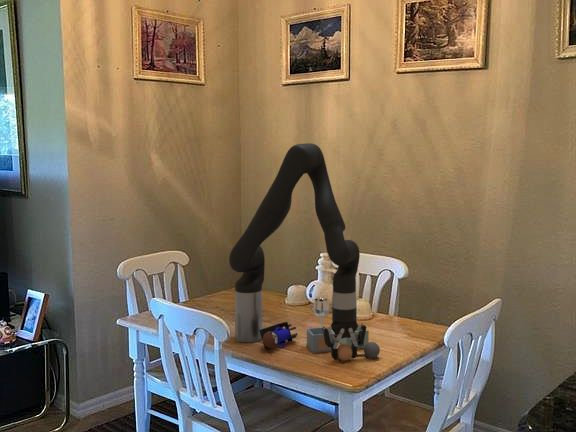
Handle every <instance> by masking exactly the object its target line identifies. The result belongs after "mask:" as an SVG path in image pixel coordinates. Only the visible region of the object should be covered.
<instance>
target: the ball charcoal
mask: <svg viewBox="0 0 576 432" xmlns="http://www.w3.org/2000/svg"><path fill="white" fill-rule="evenodd" d="M380 352H381V351H380V346H379V344H378V343H376V342H374V341H369V342H368V343H367V344H366V345H365V346H364V349H363V354H365V355H366V356H367V357H369V358H375V357H379V354H380Z"/></svg>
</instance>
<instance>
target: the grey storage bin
mask: <svg viewBox="0 0 576 432" xmlns="http://www.w3.org/2000/svg"><path fill="white" fill-rule="evenodd" d="M323 327H324V326H322V327H321V326H319V327H308V328H306V347H307V348H308V349H309V351H310V352H311V353H312V354H321V353H331V347H328V346H327V345H326V344H325V340H324V335H323V330H322V328H323ZM333 336H334V332H333V330H331V333H330V334H329V337H330V341H331V342H332V340H333Z"/></svg>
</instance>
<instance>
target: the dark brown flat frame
mask: <svg viewBox="0 0 576 432" xmlns="http://www.w3.org/2000/svg"><path fill="white" fill-rule="evenodd" d="M359 357H361V358H363V357H365V358H366V359H367V361H374V360H375V361H376V360H379V359H380V358H379V356H377V357H375V358H369V357H367V356H366V355H365V353H360V354H358V353H357V356H356V358H359ZM351 358H352V357H351ZM351 358H350V359H349V360H347V361H342V360H340V359H339V358H338V357H337V361H339V363H340V364H344V363H345V364H346V363H352V360H351ZM352 359H353V358H352Z"/></svg>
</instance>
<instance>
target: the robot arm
mask: <svg viewBox="0 0 576 432" xmlns="http://www.w3.org/2000/svg"><path fill="white" fill-rule="evenodd" d="M306 174H307V176H308V178H310V181H311V184H312V186H313V193H314V208H315V214H316V216H317V217H316V218H317V219H318V221H319V226H320V227H321V229H322V231H323V234H324V235H323V236H324V242H325V248H326V253H327V256H328V257H329V259H330V261H331V262H332V263H333V264H334V265H336V266H337V270H336V271H335V272H334V274H333V275H332V276H333V277H332V297H331V312H332V313H331V320H332V321H331V324H330V326H322V327H323V328H322V330H323V335H324V340H325V344H326V345H327V346H328V347H331V352H330V354H331V358H332V359H333V360H334V361H338V359H337V348H338V347H339V346H338V345H339V344H340V340H341V338H350V340H351V342H352V345H351V349H352V359H356V358H357V357H356V356H357V354H358V349H357V347H358V345H360V344H363V343H364V338H365V333H366V329H367V326H366V325H365V324H364V323H358V322H357V319H358V318H357V317H358V315H357V313H358V312H357V302H358V301H357V297H358V296H357V292H356V291H357V287H356V286H357V281H356V280H357V279H356V278H357V273H358V270H359V268H358V267H359V264H360V259H361V258H360V254H361V253H360V247H359V246H358V244H357V242H355V241H354V240H351V239H345V236H344V231H345V230H346V224H345V220H344V218H343V215H342V213H341V211H340V209H339V206H338V204H337V201H336V198H335V195H334V192H333V189H332V184H331V180H330V177H329V173H328V169H327V165H326V160H325V157H324V154H323V151H322V150H321V148H320V147H319V146H318V145H317V144H315V143H296V144H293V145H292V146H291V147H290V148H289V149H288V150H287V152H286V154H285V155H284V158H283V160H282V163H281V165H280V167H279V170H278V172H277V174H276V176H275V179H274V180H273V182H272V184H271V185H270V187H269V189H268V191H267V192H266V194H265V195H264V198H263V200H262V201H261V203H260V204H259V206H258V207H257V210H256V212H255V214H254V215H253V217H252V219H251V221H250V222H249V224H248V226H247V227H246V229H245V231H244V233H243V234H242V235H241V237H240V238H239V239H238V240H237V242H236V243H235V245H234V246H233V247H232V249H231V251H230V253H229V259H228V260H229V267H230V268H231V269H232V270H233V271H234V272H236V273H242V274H241V276H240V277H239V278H238V280H236V281H235V283H234V295H235V297H234V298H235V299H234V300H235V301H234V302H235V310H234V337H235V340H236V342H238V343H240V342H241V343H253V342H254V343H255V342H258V341H259V342H260V341H262V338H261V334H260V330H261V329H264V328H263V325H264V324H263V283H264V281H265V264H266V263H265V261H266V260H265V259H266V258H265V253H264V250H263V248H262V246H261V245H262V244H263V242H264V241H266V240H267V239H268V238H269V237H271V236H272V235H273V234H274V233H275V232H276V231H277V230H278V229H279V228H280V227H281V225H282V224H283V222H284V221H285V219H286V217H287V216H288V214H289V212H290V210H291V207H292V199H293V198H292V196H293V191H294V190H295V187H296V185H297V184H298V182H300V180H301V178H302V177H303V176H304V175H306ZM357 328H358V330H359V334H358V339H357V340H356V337H355V335H354V332H355V331H356V329H357ZM331 330H332V331H333V332H334V336H333V340H332V342H331V341H330V337H329V334H330V333H331Z"/></svg>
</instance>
